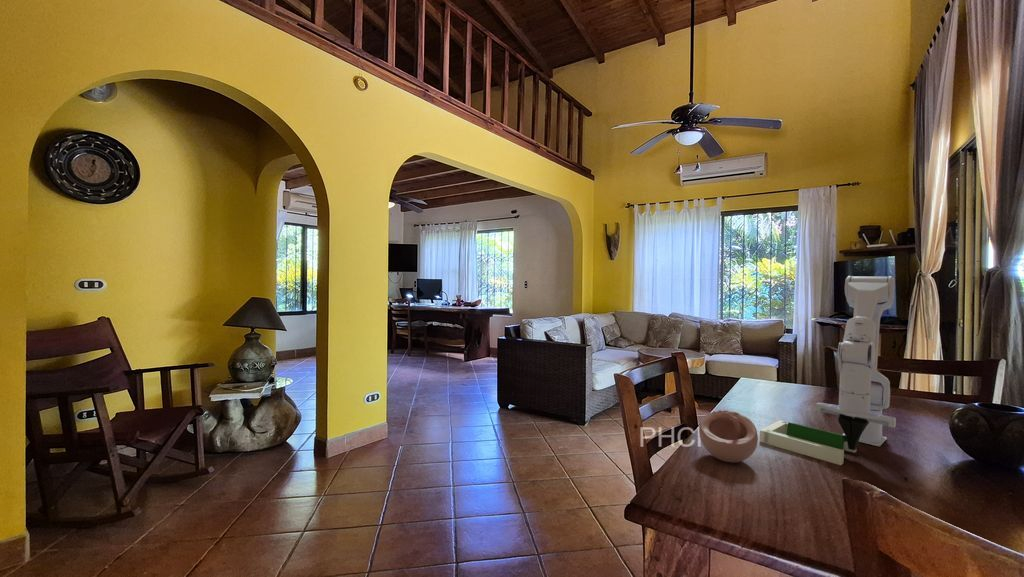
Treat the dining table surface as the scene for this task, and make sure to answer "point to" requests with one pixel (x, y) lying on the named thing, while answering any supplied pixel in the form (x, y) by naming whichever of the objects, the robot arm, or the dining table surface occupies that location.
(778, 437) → the bracket
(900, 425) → the dining table surface
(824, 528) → the dining table surface
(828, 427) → the dining table surface
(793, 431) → the dark green block
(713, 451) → the pink round bowl
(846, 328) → the robot arm
